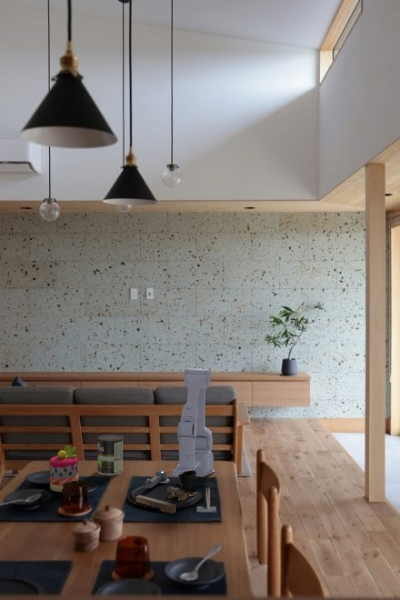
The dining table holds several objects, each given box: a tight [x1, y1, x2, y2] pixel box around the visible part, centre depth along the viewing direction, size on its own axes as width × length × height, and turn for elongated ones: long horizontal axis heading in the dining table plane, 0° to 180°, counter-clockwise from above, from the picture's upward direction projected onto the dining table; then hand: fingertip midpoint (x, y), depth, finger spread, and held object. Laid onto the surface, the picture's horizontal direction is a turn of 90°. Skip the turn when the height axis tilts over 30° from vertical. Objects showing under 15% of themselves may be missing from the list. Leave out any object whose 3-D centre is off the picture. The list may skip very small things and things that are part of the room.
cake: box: [48, 445, 80, 493], centre depth 246 cm, size 10×11×15 cm
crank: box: [144, 469, 168, 489], centre depth 250 cm, size 14×4×4 cm, turn 159°
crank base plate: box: [159, 477, 170, 484], centre depth 255 cm, size 6×6×1 cm
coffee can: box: [97, 433, 124, 477], centre depth 266 cm, size 10×10×14 cm
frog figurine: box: [166, 485, 198, 501], centre depth 236 cm, size 12×12×4 cm
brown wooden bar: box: [135, 494, 177, 515], centre depth 226 cm, size 2×16×2 cm, turn 54°
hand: (186, 491), depth 240 cm, fingers closed
